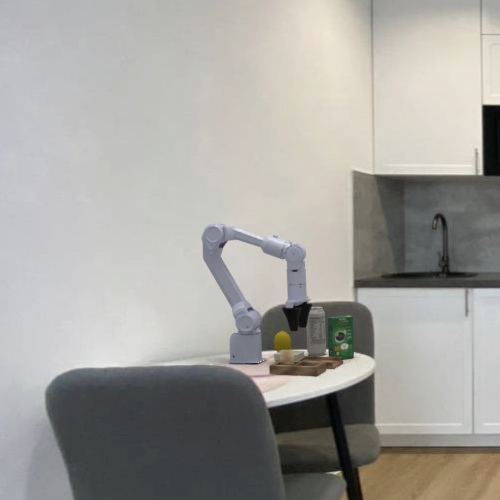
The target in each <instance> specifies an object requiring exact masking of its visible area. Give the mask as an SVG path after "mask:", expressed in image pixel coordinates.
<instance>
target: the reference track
mask: <svg viewBox="0 0 500 500" xmlns="http://www.w3.org/2000/svg"><path fill="white" fill-rule="evenodd" d="M277 361H279V360H275V361H274V363H275V362H277ZM300 361H311V362H326V370H328V369H329V370H336V368H338V367H340V366H341V365H342V364H344V359H341V357H329V356H323V355H321V356H311V355H304V358H303V359H302V360H300Z"/></svg>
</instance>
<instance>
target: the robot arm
mask: <svg viewBox="0 0 500 500" xmlns="http://www.w3.org/2000/svg"><path fill="white" fill-rule="evenodd" d="M201 241H202V258H203V262H204V263H205V264H206V267H207V268H208V270H209V271H210V273H211V275H212V276H213V278H214V280H215V282H216V284H217V286H218V287H219V289H220V290H221V292H222V293H223V295H224V297H225V299H226V301H227V302H228V304H229V305H230V307H231V312H232V316H233V317H234V319H235V321H234V322H235V328H236V329H237V332H233V333H231V334H230V337H229V362H228V363H229V364H245V363H258V362H260V361H263V360H265V361H267V360H268V358H267V357H263V352H262V351H263V350H262V349H263V347H262V343H263V342H262V330H261V329H260V326H261V324H262V322H263V319H262V315H261V313H260V312H259V311H258V310H256V309H255V308H254V307H253V306H252V304H251V303H250V302H249V300H247V299H246V297H245V295H244V294H243V292H242V290H241V288H240V287H239V285H238V284H237V282H236V280H235V279H234V276H233V275H232V273H231V272H230V269H229V268H228V266H227V265H226V263H225V262H224V260H223V259H222V253H223V251H224V247H225V246H226V244H227V243H228V242H229V241H239V242H242V243H246V244H249V245H252V246H256V247H259V248H260V249H261V251H262V252H263V254H265V255H269V256H272V257H274V258H276V259H280V260H282V261H283V260H285V261H286V282H287V284H286V285H287V287H286V290H287V299H286V301H285V306H284V307H282V312H283V314H284V315H285V317H286V320H287V323H288V327H289V328H288V329H289V330H290V332H298V331H299V328H306V326H307V321H308V316H309V312H310V310H311V308H312V307H313V303H309V302H311V298H309V296H307V294H308V293H307V275H306V274H307V273H306V261H305V259H306V257H307V251H306V249H305V247H304V246H302V244H299V243H293V241H292V240H289V241H287V240H284V239H282V238H279V235H277V234H273V235H271V234H269V235H267V236H265V237H263V236H261V235H258V234H256V233H253V232H251V231H248V230H245V229H242V228H240V227H237V226H234V225H233V226H232V225H227V224H225V223H224V224H223V223H218V224H216V223H211V224H208V225H206V227H205V228H204V230H203V233H202V235H201ZM266 359H267V360H266ZM263 362H264V361H263ZM260 363H261V362H260ZM258 364H259V363H258Z"/></svg>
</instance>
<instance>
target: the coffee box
mask: <svg viewBox="0 0 500 500" xmlns="http://www.w3.org/2000/svg"><path fill="white" fill-rule="evenodd" d="M327 337H328V338H327V345H328V346H327V349H328V352H327V353H328V356H327V357H341V360H347V359H348V360H349V359H354V358H355V349H354V347H355V345H354V342H355V341H354V338H355V337H354V316H353V315H341V316H330V317H329V316H328V317H327Z"/></svg>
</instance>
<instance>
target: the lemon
mask: <svg viewBox="0 0 500 500" xmlns="http://www.w3.org/2000/svg"><path fill="white" fill-rule="evenodd" d="M273 347H274V349H275V351H276V353H277V352H279V351H281V350H291V349H292V340H291V335H289V333H287V332H286V331H284V330H281V331H279V332H277V333H276V334H275V336H274V339H273Z"/></svg>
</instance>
